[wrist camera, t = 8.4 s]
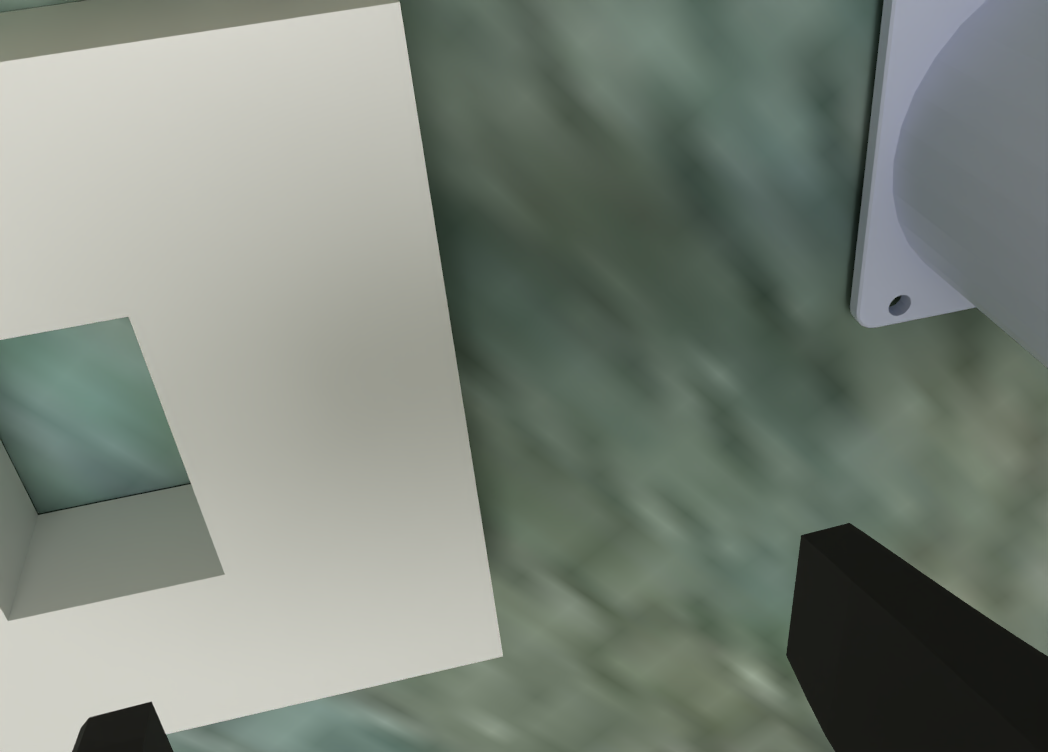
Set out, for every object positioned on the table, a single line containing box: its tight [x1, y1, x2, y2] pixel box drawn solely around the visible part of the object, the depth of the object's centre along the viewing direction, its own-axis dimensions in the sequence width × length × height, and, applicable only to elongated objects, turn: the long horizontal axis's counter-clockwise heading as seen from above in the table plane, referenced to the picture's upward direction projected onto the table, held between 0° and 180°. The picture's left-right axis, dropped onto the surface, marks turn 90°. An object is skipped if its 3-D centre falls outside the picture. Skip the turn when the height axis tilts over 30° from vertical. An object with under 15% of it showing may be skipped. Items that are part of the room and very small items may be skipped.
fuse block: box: [0, 0, 503, 752], centre depth 18 cm, size 14×14×3 cm
